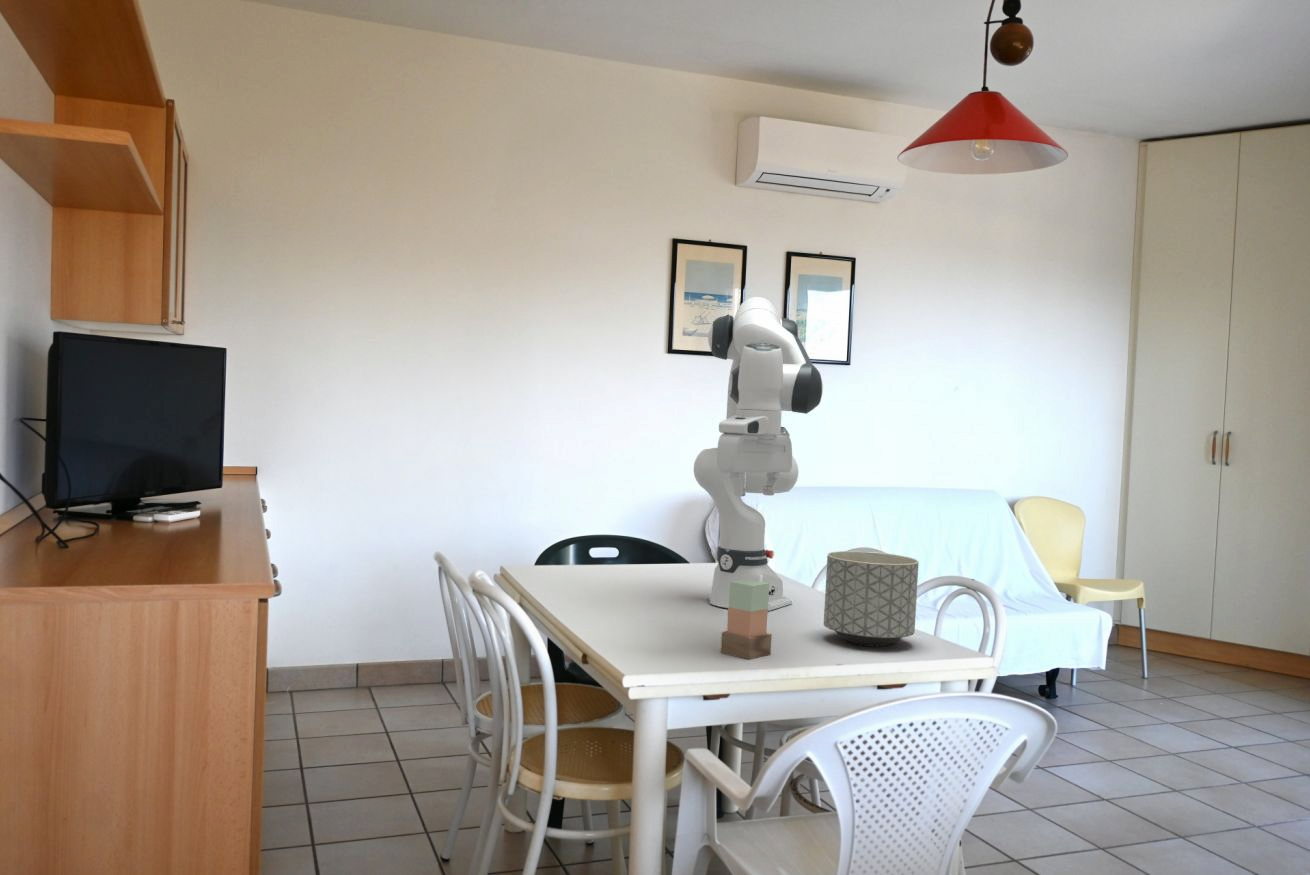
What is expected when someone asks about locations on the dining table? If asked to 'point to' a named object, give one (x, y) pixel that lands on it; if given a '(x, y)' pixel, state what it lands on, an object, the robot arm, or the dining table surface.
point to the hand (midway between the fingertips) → (754, 495)
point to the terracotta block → (747, 622)
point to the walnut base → (746, 645)
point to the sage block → (749, 595)
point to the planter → (870, 596)
